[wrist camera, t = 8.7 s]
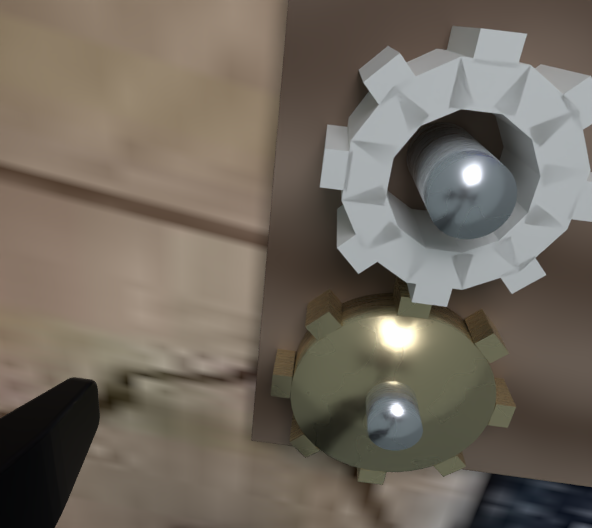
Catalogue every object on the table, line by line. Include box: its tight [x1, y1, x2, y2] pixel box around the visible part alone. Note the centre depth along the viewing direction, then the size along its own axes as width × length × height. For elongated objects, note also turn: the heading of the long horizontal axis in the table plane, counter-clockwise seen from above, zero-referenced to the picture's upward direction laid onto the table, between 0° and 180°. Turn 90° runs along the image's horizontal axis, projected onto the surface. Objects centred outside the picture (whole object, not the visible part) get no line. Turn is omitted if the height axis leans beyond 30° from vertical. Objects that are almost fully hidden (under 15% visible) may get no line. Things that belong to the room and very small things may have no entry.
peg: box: [407, 122, 517, 239], centre depth 13 cm, size 2×2×4 cm
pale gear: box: [320, 26, 592, 307], centre depth 13 cm, size 7×7×3 cm
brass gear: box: [271, 275, 516, 485], centre depth 17 cm, size 9×9×3 cm
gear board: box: [251, 0, 592, 487], centre depth 17 cm, size 18×21×2 cm
